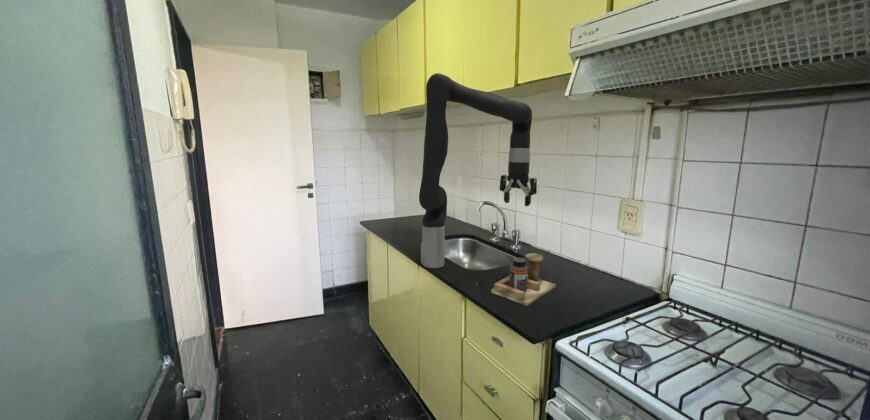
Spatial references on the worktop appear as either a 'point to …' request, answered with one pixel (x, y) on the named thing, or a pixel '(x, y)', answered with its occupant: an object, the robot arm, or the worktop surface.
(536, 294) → the notched board
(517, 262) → the supplement bottle
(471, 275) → the worktop surface
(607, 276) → the worktop surface
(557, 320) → the worktop surface
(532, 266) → the bobbin post
